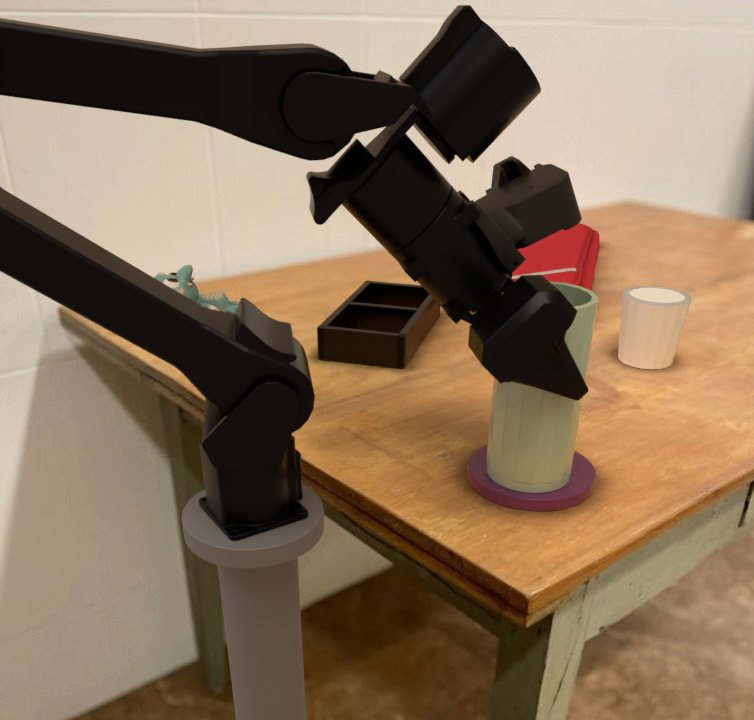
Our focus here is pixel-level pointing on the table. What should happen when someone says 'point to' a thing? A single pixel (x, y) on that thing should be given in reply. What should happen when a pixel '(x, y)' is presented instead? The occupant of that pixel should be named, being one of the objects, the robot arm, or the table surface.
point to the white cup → (651, 325)
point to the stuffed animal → (196, 290)
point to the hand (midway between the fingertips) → (560, 370)
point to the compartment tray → (378, 325)
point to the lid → (548, 501)
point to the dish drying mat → (563, 257)
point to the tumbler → (540, 416)
